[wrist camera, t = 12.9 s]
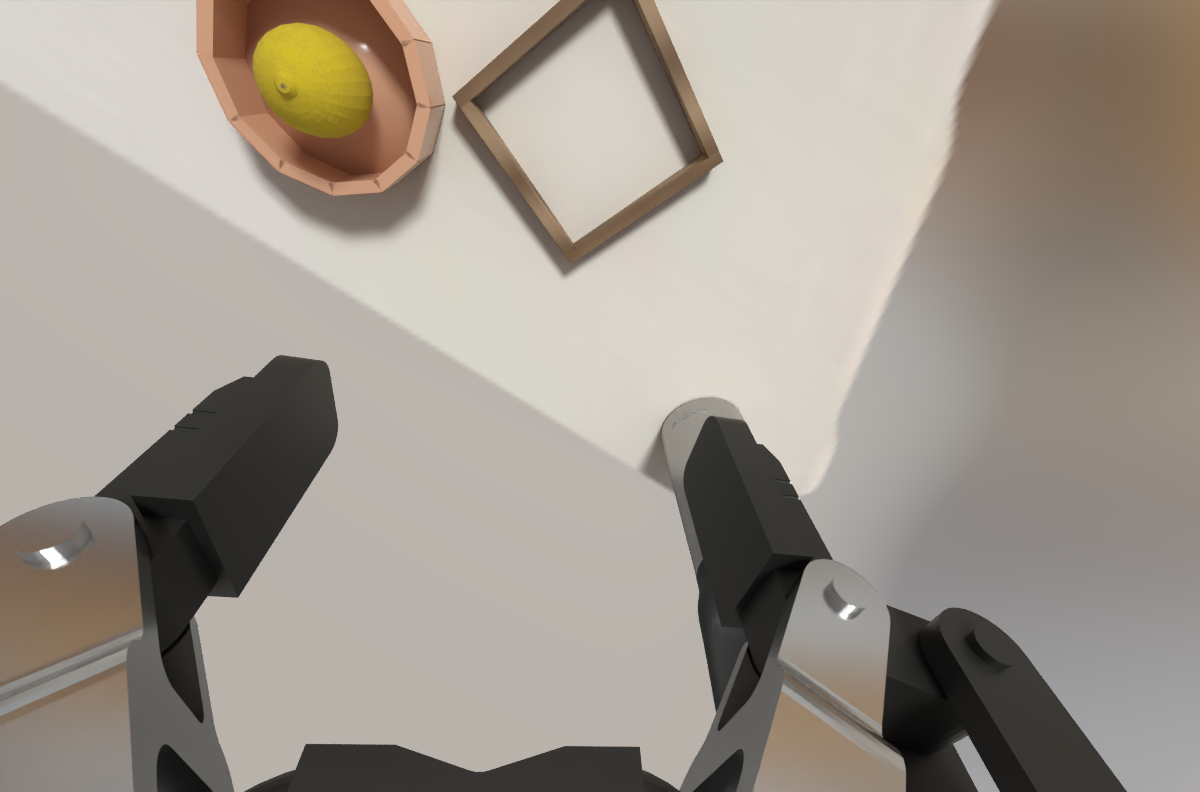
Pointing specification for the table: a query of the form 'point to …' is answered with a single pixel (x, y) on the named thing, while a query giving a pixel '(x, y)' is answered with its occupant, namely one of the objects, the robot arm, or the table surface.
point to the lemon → (313, 80)
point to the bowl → (395, 67)
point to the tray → (467, 103)
